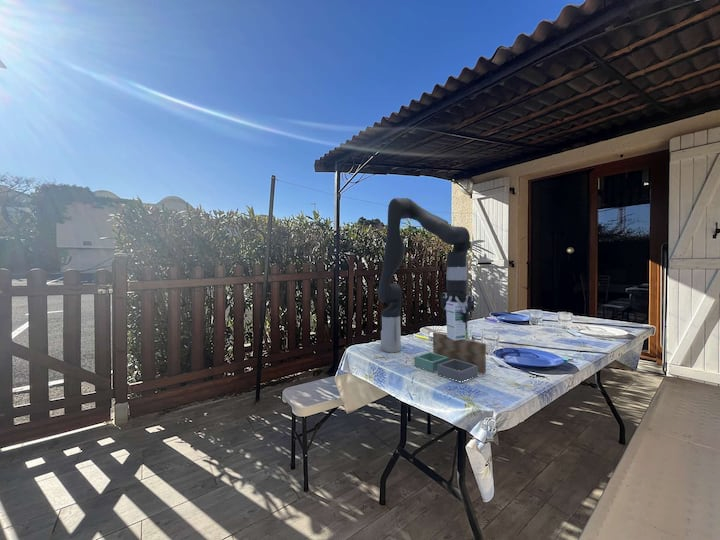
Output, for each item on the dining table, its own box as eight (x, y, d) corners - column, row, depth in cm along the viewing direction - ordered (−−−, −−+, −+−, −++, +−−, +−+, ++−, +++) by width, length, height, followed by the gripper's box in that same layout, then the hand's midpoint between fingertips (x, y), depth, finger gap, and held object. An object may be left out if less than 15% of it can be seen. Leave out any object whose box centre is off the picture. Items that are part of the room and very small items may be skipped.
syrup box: (454, 340, 118) (454, 302, 117) (446, 336, 124) (446, 300, 123) (467, 339, 120) (467, 301, 119) (459, 335, 125) (458, 299, 124)
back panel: (433, 358, 142) (433, 332, 142) (435, 357, 143) (435, 331, 143) (483, 374, 122) (483, 344, 122) (485, 373, 123) (485, 343, 123)
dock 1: (414, 365, 134) (414, 356, 133) (430, 360, 140) (429, 351, 139) (432, 372, 126) (432, 362, 125) (448, 366, 132) (448, 357, 131)
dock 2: (437, 374, 123) (437, 364, 123) (454, 368, 130) (454, 358, 130) (461, 383, 114) (461, 372, 114) (478, 375, 121) (478, 365, 121)
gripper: (435, 278, 124) (435, 319, 125) (467, 280, 112) (467, 325, 113) (447, 277, 128) (447, 316, 129) (479, 278, 117) (479, 322, 118)
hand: (456, 320), depth 121 cm, fingers closed on syrup box, 7 cm apart
